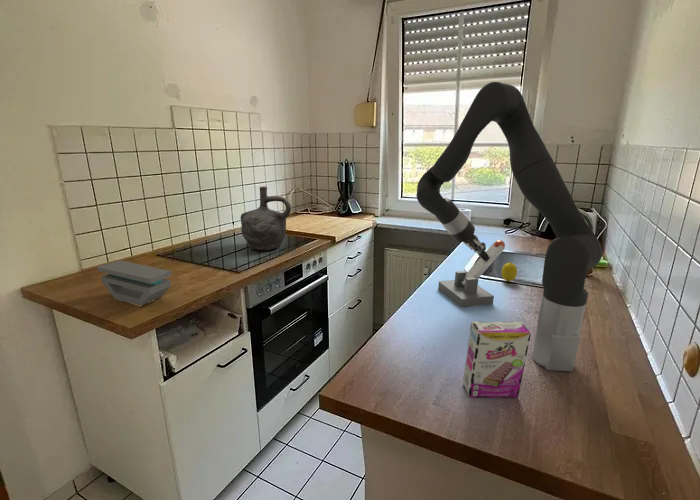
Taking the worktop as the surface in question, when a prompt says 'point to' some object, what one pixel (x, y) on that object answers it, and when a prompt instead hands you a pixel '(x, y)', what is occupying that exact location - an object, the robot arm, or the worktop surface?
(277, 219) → the vessel
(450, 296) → the lever stand
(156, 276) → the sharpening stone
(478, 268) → the lever
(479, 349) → the candy bar box
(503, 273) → the lemon
